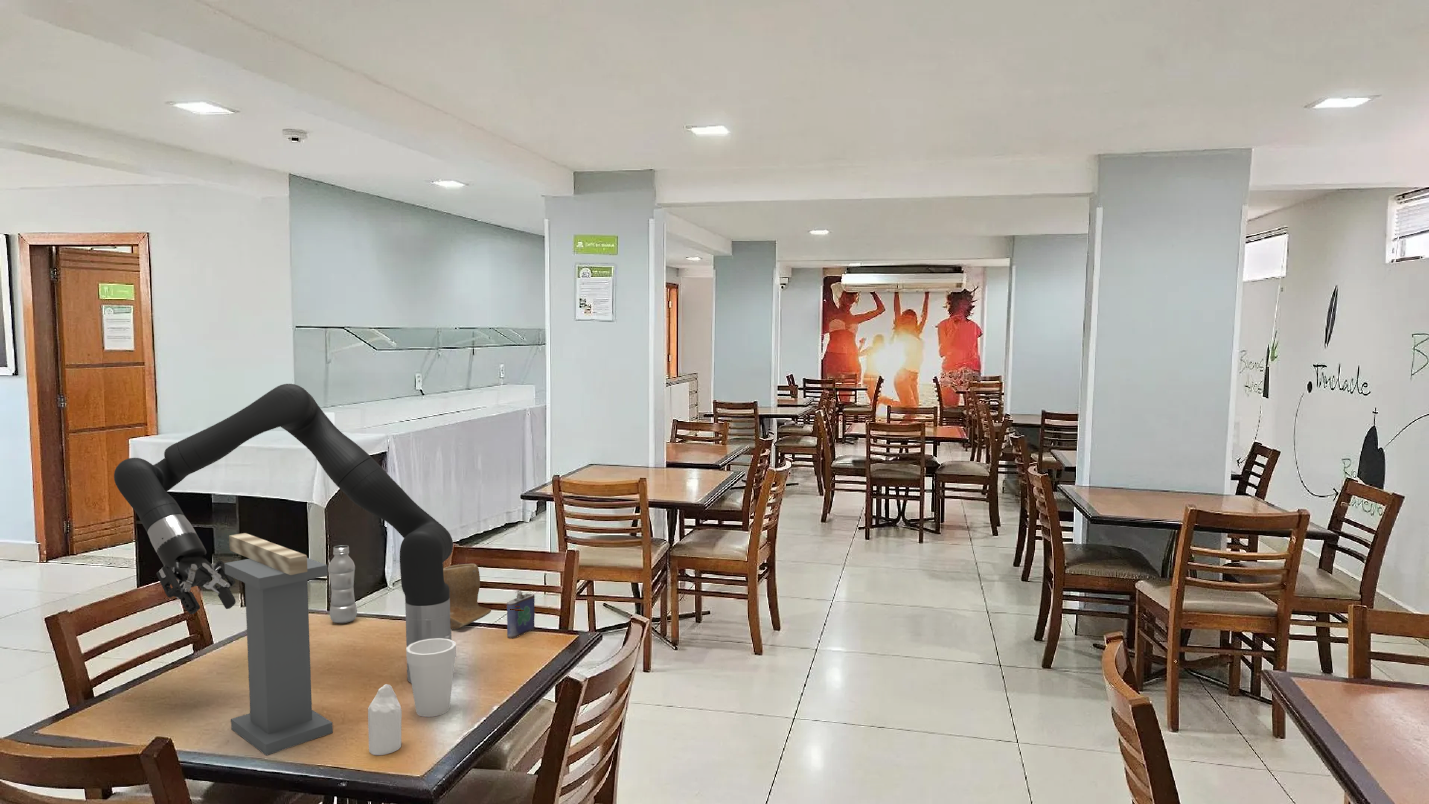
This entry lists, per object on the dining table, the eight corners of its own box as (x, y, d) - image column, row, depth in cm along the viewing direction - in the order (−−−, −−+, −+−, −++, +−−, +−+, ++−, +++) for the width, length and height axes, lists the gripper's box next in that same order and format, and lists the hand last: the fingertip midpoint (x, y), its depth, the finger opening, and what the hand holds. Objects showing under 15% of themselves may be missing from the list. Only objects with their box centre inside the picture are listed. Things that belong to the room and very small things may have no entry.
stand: (332, 732, 164) (327, 565, 162) (266, 755, 155) (259, 578, 153) (295, 709, 174) (290, 551, 172) (231, 729, 165) (224, 563, 163)
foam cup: (406, 704, 176) (404, 642, 175) (454, 697, 180) (452, 635, 179) (410, 723, 168) (408, 657, 167) (459, 715, 171) (458, 650, 170)
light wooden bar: (307, 571, 157) (306, 555, 157) (290, 575, 155) (289, 558, 154) (245, 547, 175) (245, 533, 175) (229, 550, 173) (229, 535, 173)
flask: (512, 639, 215) (511, 596, 214) (503, 637, 216) (502, 595, 216) (537, 628, 223) (536, 587, 222) (528, 627, 225) (527, 586, 224)
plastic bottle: (347, 626, 225) (345, 550, 223) (324, 625, 226) (321, 549, 225) (362, 619, 231) (360, 544, 230) (339, 617, 232) (337, 543, 231)
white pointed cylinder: (381, 675, 160) (407, 678, 159) (383, 739, 161) (409, 742, 160) (359, 688, 155) (386, 691, 153) (361, 753, 156) (388, 757, 154)
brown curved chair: (459, 611, 238) (458, 556, 237) (497, 615, 234) (496, 560, 233) (423, 628, 224) (422, 570, 223) (463, 633, 220) (461, 574, 219)
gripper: (157, 532, 167) (196, 601, 163) (218, 529, 180) (255, 593, 176) (131, 556, 168) (169, 625, 164) (194, 552, 181) (230, 616, 177)
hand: (213, 608), depth 170 cm, fingers open, 8 cm apart
